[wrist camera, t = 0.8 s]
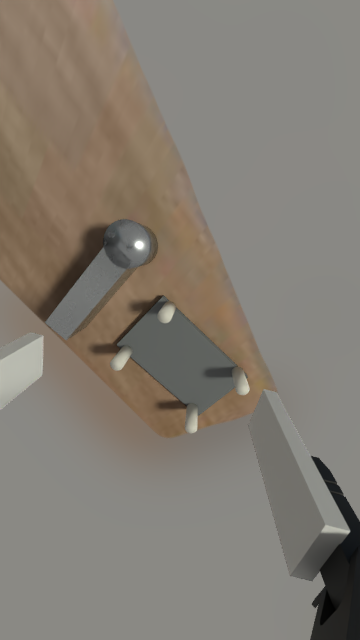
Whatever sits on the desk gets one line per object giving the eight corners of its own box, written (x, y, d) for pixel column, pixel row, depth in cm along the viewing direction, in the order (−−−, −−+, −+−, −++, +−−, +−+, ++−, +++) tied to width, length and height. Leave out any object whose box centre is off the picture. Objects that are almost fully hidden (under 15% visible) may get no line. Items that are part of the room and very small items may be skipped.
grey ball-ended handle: (90, 330, 39) (71, 344, 34) (63, 307, 39) (39, 317, 33) (165, 244, 34) (158, 243, 28) (136, 215, 33) (122, 208, 27)
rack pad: (116, 344, 40) (102, 360, 34) (165, 293, 36) (158, 301, 30) (196, 413, 43) (195, 438, 37) (248, 372, 39) (256, 393, 33)
